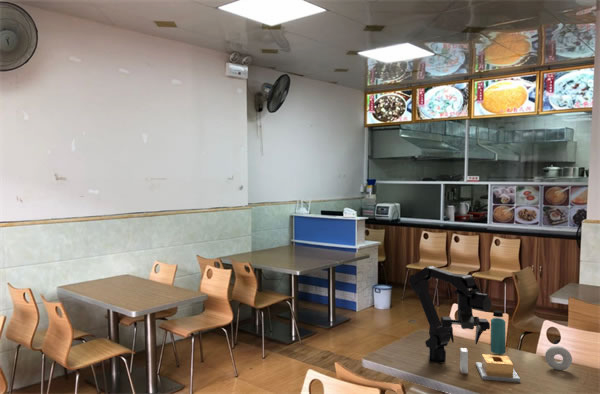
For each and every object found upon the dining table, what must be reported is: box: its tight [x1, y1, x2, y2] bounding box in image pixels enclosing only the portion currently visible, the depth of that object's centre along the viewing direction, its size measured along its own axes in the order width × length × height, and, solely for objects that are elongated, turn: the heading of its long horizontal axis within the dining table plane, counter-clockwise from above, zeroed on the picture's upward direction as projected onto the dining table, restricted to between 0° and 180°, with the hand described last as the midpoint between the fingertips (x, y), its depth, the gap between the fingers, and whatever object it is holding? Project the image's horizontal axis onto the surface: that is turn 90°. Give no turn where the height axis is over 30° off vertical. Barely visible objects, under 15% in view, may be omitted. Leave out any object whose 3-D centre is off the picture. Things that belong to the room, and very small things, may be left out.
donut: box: [544, 345, 573, 371], centre depth 192 cm, size 10×3×10 cm, turn 66°
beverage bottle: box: [489, 310, 507, 355], centre depth 209 cm, size 6×7×20 cm
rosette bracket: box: [475, 353, 521, 383], centre depth 189 cm, size 14×15×6 cm
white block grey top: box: [459, 347, 469, 374], centre depth 191 cm, size 2×4×9 cm, turn 169°
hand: (464, 343), depth 191 cm, fingers open, 9 cm apart
